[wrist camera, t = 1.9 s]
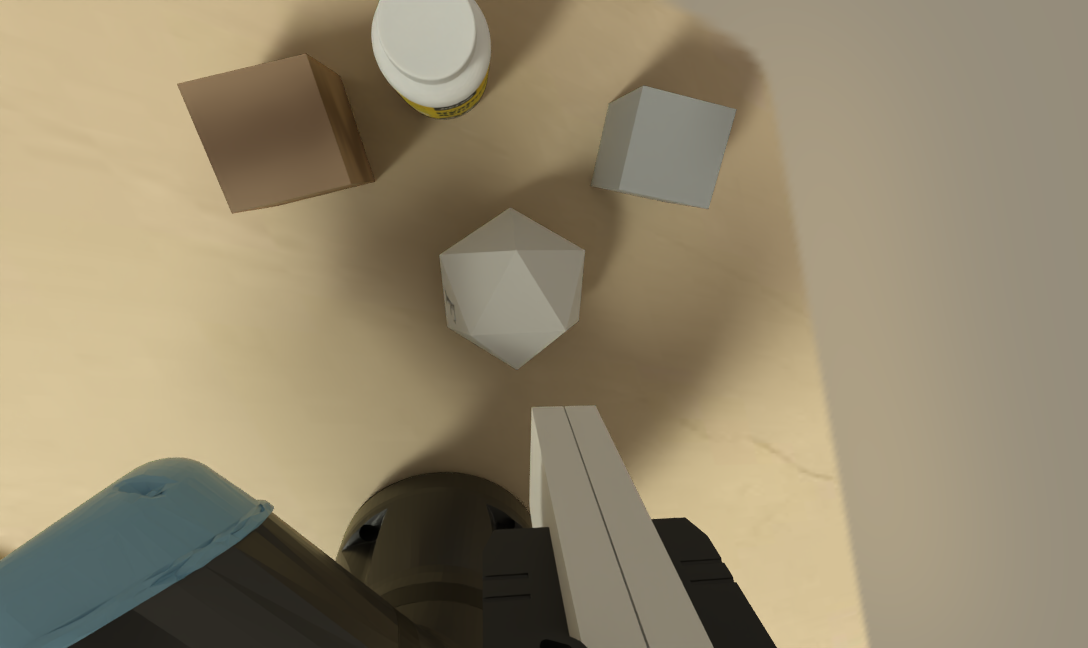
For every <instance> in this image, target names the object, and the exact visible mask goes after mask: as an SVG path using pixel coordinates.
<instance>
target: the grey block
mask: <svg viewBox="0 0 1088 648" xmlns="http://www.w3.org/2000/svg"><path fill="white" fill-rule="evenodd" d="M736 110H737V109H734V108H730V107H726V106H722V105H718V104H714V103H710V102H706V101H702V100H698V99H695V98H691V97H687V96H683V95H679V94H675V93H671V92H667V91H663V90H659V89H655V88H651V87H648V86H644V85H643V86H641V87H639V88H638V89H636V90H634V91H632V92H630V93H628V94H626V95H624V96H623V97H621V98H619V99H617V100H615V101H613V102H611V103H609V105H608V110H607V114H606V119H605V123H604V128H603V132H602V137H601V141H600V146H599V150H598V155H597V160H596V164H595V169H594V173H593V178H592V182H591V186H593V187H597V188H602V189H606V190H611V191H616V192H620V193H625V194H630V195H634V196H639V197H644V198H648V199H653V200H657V201H662V202H668V203H674V204H680V205H686V206H693V207H699V208H705V209H709V205H710V202H711V198H712V195H713V191H714V187H715V184H716V180H717V177H718V173H719V170H720V166H721V163H722V159H723V156H724V152H725V149H726V145H727V142H728V138H729V135H730V131H731V128H732V124H733V120H734V117H735V113H736Z"/></svg>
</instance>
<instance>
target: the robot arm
mask: <svg viewBox="0 0 1088 648" xmlns="http://www.w3.org/2000/svg"><path fill="white" fill-rule="evenodd" d="M529 507H530V514H531V516H530V514H529V513H528V511H527V510H526V508H525V507H524V506H523V505H522V504H521V502H520V501H519V500H517V499H516V498H515V497H514V496H513V495H512V494H511V493H509V492H508V491H506V490H505V489H503V488H502V487H500V486H498V485H496V484H494V483H492V482H490V481H487V480H485V479H482V478H479V477H475V476H471V475H466V474H460V473H430V474H423V475H418V476H414V477H411V478H407V479H404V480H402V481H399V482H397V483H394V484H392V485H390V486H388V487H387V488H385V489H383V490H382V491H380V492H379V493H377V494H376V495H374V496H373V497H372V498H371V499H369V500H368V501H367V502H366V503H365V504H364V505H363V506H362V507H361V508H360V509H359V511H358V512H357V513H356V514H355V516H354V517H353V519H352V520H351V522H350V524H349V526H348V528H347V530H346V532H345V535H344V538H343V540H342V543H341V546H340V548H339V551H338V554H337V557H336V561H334V560H333V559H332V558H330V557H329V556H328V555H327V554H325V553H324V552H323V551H321V550H320V549H319V548H318V547H316V546H315V545H314V544H312V543H311V542H310V541H309V540H307V539H306V538H305V537H303V536H302V535H301V534H300V533H298V532H297V531H296V530H294V529H293V528H292V527H290V526H289V525H288V524H287V523H285V522H284V521H283V520H281V519H280V518H279V517H278V516H276V515H275V514H274V513H272V511H273V509H274V506H272V505H271V504H270V503H268V502H267V501H265V500H256V499H254V498H253V497H251V496H250V495H248V494H247V493H245V492H244V491H243V490H241V489H240V488H238V487H237V486H235V485H234V484H232V483H231V482H229V481H228V480H227V479H225V478H224V477H222V476H221V475H219V474H218V473H216V472H215V471H213V470H212V469H211V468H209V467H208V466H206V465H204V464H202V463H200V462H198V461H195V460H192V459H188V458H165V459H159V460H155V461H152V462H148V463H146V464H144V465H142V466H140V467H138V468H136V469H134V470H133V471H131V472H129V473H128V474H126V475H125V476H123V477H122V478H120V479H119V480H117V481H116V482H114V483H112V484H111V485H110V486H108V487H107V488H105V489H104V490H102V491H101V492H99V493H98V494H96V495H95V496H93V497H92V498H90V499H89V500H87V501H86V502H84V503H83V504H82V505H80V506H79V507H77V508H76V509H74V510H73V511H71V512H70V513H68V514H67V515H65V516H64V517H62V518H61V519H60V520H58V521H57V522H55V523H54V524H52V525H51V526H49V527H48V528H46V529H45V530H44V531H42V532H41V533H39V534H38V535H36V536H35V537H33V538H32V539H30V540H29V541H28V542H26V543H25V544H23V545H22V546H20V547H19V548H17V549H16V550H14V551H13V552H12V553H10V554H9V555H7V556H6V557H4V558H3V559H1V560H0V648H777V647H776V646H775V644H774V642H773V641H772V639H771V637H770V636H769V634H768V633H767V631H766V629H765V628H764V626H763V625H762V623H761V621H760V620H759V618H758V617H757V615H756V613H755V612H754V610H753V608H752V607H751V605H750V604H749V602H748V600H747V599H746V597H745V596H744V594H743V592H742V591H741V589H740V587H739V586H738V584H737V583H736V582H734V580H733V576H732V575H731V573H730V571H729V570H728V568H727V567H726V565H725V563H722V561H721V557H720V555H719V554H718V552H717V550H716V549H715V547H714V546H713V544H712V542H711V541H710V539H709V537H708V536H707V535H706V534H705V533H703V532H702V531H701V530H700V529H699V528H697V527H696V526H695V525H694V524H693V523H691V522H690V521H689V520H688V519H686V518H667V519H651V518H650V516H649V514H648V512H647V510H646V508H645V506H644V504H643V502H642V500H641V498H640V496H639V493H638V491H637V489H636V487H635V485H634V483H633V481H632V479H631V477H630V475H629V473H628V471H627V469H626V467H625V465H624V463H623V461H622V459H621V457H620V454H619V452H618V450H617V448H616V446H615V444H614V442H613V440H612V438H611V436H610V434H609V432H608V430H607V428H606V426H605V424H604V422H603V420H602V418H601V416H600V413H599V411H598V409H597V407H596V405H587V406H564V407H563V406H549V407H532V412H531V454H530V497H529Z"/></svg>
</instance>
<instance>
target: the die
mask: <svg viewBox="0 0 1088 648" xmlns="http://www.w3.org/2000/svg"><path fill="white" fill-rule="evenodd" d="M439 257H440V266H441V275H442V284H443V293H444V302H445V311H446V320H447V327H448V328H450V329H451V330H453V331H455V332H456V333H458V334H459V335H461V336H463V337H464V338H466V339H467V340H469V341H471V342H472V343H474V344H476V345H477V346H479V347H480V348H482V349H484V350H485V351H487V352H488V353H490V354H492V355H493V356H495V357H497V358H498V359H500V360H501V361H503V362H505V363H506V364H508V365H510V366H511V367H513V368H514V369H516V370H518V369H519V368H520V367H522V366H523V365H524V364H525V363H527V362H528V361H529V360H530V359H532V358H533V357H534V356H535V355H537V354H538V353H539V352H540V351H542V350H543V349H544V348H545V347H547V346H548V345H549V344H550V343H552V342H553V341H554V340H555V339H557V338H558V337H559V336H560V335H562V334H563V333H564V332H566V331H567V330H568V329H569V328H571V327H572V326H573V325H574V324H576V323H577V322H578V321H579V313H580V302H581V291H582V280H583V269H584V258H585V250H584V249H582V248H580V247H579V246H577V245H575V244H573V243H572V242H570V241H568V240H566V239H565V238H563V237H561V236H559V235H558V234H556V233H554V232H552V231H551V230H549V229H547V228H546V227H544V226H542V225H540V224H539V223H537V222H535V221H533V220H532V219H530V218H528V217H526V216H525V215H523V214H521V213H519V212H518V211H516V210H514V209H512V208H511V207H510V208H508V209H507V210H505V211H504V212H502V213H501V214H499V215H498V216H496V217H495V218H493V219H492V220H490V221H489V222H487V223H486V224H484V225H483V226H481V227H480V228H479V229H477V230H476V231H474V232H473V233H471V234H470V235H468V236H467V237H465V238H464V239H462V240H461V241H459V242H458V243H456V244H455V245H453V246H452V247H450V248H449V249H447V250H446V251H444V252H443V253H441V254H440V255H439Z"/></svg>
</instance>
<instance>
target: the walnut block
mask: <svg viewBox="0 0 1088 648" xmlns="http://www.w3.org/2000/svg"><path fill="white" fill-rule="evenodd" d="M177 85H178V88H179V90H180V92H181V95H182V97H183V99H184V102H185V104H186V106H187V109H188V111H189V113H190V116H191V118H192V121H193V123H194V125H195V128H196V130H197V132H198V135H199V137H200V139H201V142H202V144H203V146H204V149H205V151H206V153H207V156H208V158H209V161H210V163H211V165H212V168H213V170H214V172H215V175H216V177H217V179H218V182H219V184H220V186H221V189H222V191H223V193H224V196H225V198H226V201H227V203H228V205H229V208H230V210H231V212H232V214H233V213H239V212H244V211H250V210H256V209H262V208H268V207H274V206H279V205H283V204H287V203H291V202H295V201H299V200H303V199H307V198H311V197H315V196H319V195H323V194H327V193H331V192H335V191H339V190H344V189H348V188H352V187H356V186H360V185H364V184H368V183H372V182H375V180H374V177H373V174H372V171H371V168H370V165H369V162H368V159H367V156H366V153H365V150H364V147H363V144H362V141H361V138H360V135H359V132H358V129H357V126H356V123H355V120H354V117H353V114H352V111H351V108H350V105H349V102H348V98H347V95H346V92H345V89H344V86H343V83H342V80H341V77H340V76H339V75H338V74H336V73H335V72H333V71H332V70H330V69H329V68H327V67H326V66H324V65H323V64H321V63H320V62H318V61H317V60H315V59H314V58H312V57H311V56H309V55H308V54H306V53H305V54H301V55H297V56H293V57H289V58H284V59H280V60H276V61H272V62H268V63H263V64H259V65H255V66H251V67H246V68H242V69H238V70H234V71H230V72H225V73H221V74H217V75H213V76H208V77H204V78H200V79H196V80H192V81H187V82H183V83H179V84H177Z"/></svg>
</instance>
